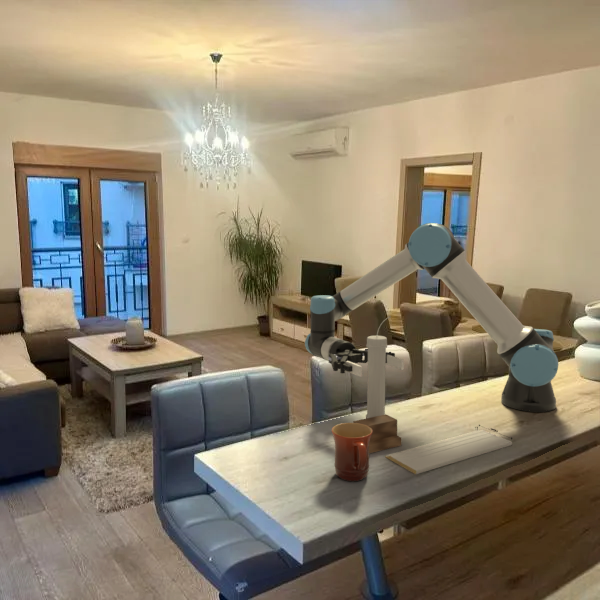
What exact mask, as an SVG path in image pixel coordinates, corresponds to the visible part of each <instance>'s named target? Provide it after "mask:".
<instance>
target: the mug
mask: <svg viewBox="0 0 600 600" xmlns="http://www.w3.org/2000/svg"><path fill="white" fill-rule="evenodd" d="M372 432H373V431H372V429H371V428H370V427H369V426H367V425H364V424H359V423H353V422H343V423H338V424H336V425H334V426H332V428H331V433H332V436H333V442H334V463H333V465H334V469H335V474H336V476H337V477H338V478H340V479H341V480H344V481H347V482H359V481H363V479H365V478H366V477H368V474H369V469H370V453H369V442H370V439H371V436H372Z"/></svg>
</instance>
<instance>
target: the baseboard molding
mask: <svg viewBox="0 0 600 600" xmlns="http://www.w3.org/2000/svg"><path fill="white" fill-rule="evenodd" d="M479 427H481V425H480V424H478V426H474V428H475V429H474V430H473V431H470V432H466V433H463V434H459V435H455V436H452V437H448V438H444V439H441V440H437V441H434V442H429V443H426V444H423V445H419V446H415V447H412V448H407V449H403V450H401V451H397V452H393V453H389V454H386V455H385V456H384V457H385V458H386V459H388V460H390V461H392V462H393V463H395V464H397V465H399V466H400V467H402V468H403V469H405V470H407V471H408V472H411V473H412V474H414V475H418V474H421V473H425V472H428V471H431V470H434V469H438V468H442V467H445V466H447V465H450V464H451V465H452V464H454V463H457V462H458V463H459V462H461V461H464V460H467V459H468V460H469V459H471V458H474V457H478V456H480V455H483V454H487V453H490V452H493V451H496V450H499V449H500V450H501V449H504V448H507V447H510V446H512V445H513V441H512V440H513V437H510V440H509V439H506V438H504V437H501V436H498V435H496V434H498V431H499V430H498V429H496V428H492V427H491V428H490V429H489V428H488V430H490V431H492V432H494V433H496V434H493V433H491V432H490V431H489V432H488V431H486V430H485V429H486V427H484V426H483V428H484V429H481V430H480V429H479ZM500 435H502V436H503V434H501V433H500ZM505 437H507V438H508V436H507V435H505Z"/></svg>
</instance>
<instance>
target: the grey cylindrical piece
mask: <svg viewBox="0 0 600 600" xmlns="http://www.w3.org/2000/svg"><path fill="white" fill-rule="evenodd" d="M389 318H391V316H388V317H387V318H385V319H383V321H382V322H381V323H380V325H379V327H378V329H377V332H376V335H370V336H367V337H366V345H365V347H366V349H368V362H367V384H366V385H367V386H366V387H367V389H366V391H367V393H366V398H367V399H366V400H367V401H366V408H367V409H366V414H365V419H366V418H371V417H376V416H381V415H385V414H386V412H385V411H386V365H387V363H386V352H387V348H388V339H387V337H386V336H384V335H379V331H380V329H381V326H382V325H383V323H384V322H385V321H386V320H387V319H389Z"/></svg>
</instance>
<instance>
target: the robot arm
mask: <svg viewBox="0 0 600 600" xmlns="http://www.w3.org/2000/svg"><path fill="white" fill-rule="evenodd" d="M466 253H467V252H466V250H465V249H464V248H463V246H461V244H460V243H459V242H458V241H457V240H456V239H455V235H454V234H453V232H452V230H451V229H450V228H449V227H448V226H446V225H444V224H441V223H437V222H436V223H434V222H428V223H423V224H421V225H419V226H418V227H417V228H415V229H414V230H413V232H412V233H411V235H410V237H409V241H408V242H407V243H406V244H405V245H404V249H402V250H401V251H399V252H398V253H396V254H395V255H393V256H392V257H390V258H388V259H387V260H385V261H384V262H382V263H381V264H380V265H378V266H376V267H375V268H374V269H372V270H371V271H369V272H367V273H366V274H364V275H363V276H361V277H360V278H358V279H357V280H355V281H354V282H353V283H350V284H349V285H347V286H346V287H345V288H343V289H342V290H339V292H337V293H335V294H333V295H328V294H327V295H326V294H325V295H323V294H322V295H321V294H320V295H313V296H312V297H311V298H310V304H309V305H310V306H309V310H310V311H309V312H310V313H309V314H310V330H309V331H310V333H308V334H307V336H306V338H305V340H304V346H305V349H306V351H307V352H308V353H309V354H311V355H312V356H314V357H315V358H316V357H317V358H319V359H323V360H325V361H327V362H328V363H329V364H331V367H332V370H333V372H338V370H340V374H345V373H346V372H348V373H350V374H352V375H355V376H356V377H363V366H362V365H360V364H368V348H365V349H363V350H362V349H359V348H356V347H355V345H354V343H352V342H350V341H347V340H344V339H342V338H338V337H335V329H336V327H335V325H336V323H335V322H336V321H338V320H340V319H342V318H344V317H345V316H347V314H349V313H351V312H352V311H354V310H356V309H357V308H359V307H360V306H363V304H365V303H366V302H368V301H371V299H372V298H375V297H376V296H378V295H379V294H381V293H382V292H384V291H385V290H387V289H389V288H390V287H392V286H393V285H396V283H398V282H400V281H401V280H403V279H405V278H406V277H409V275H410V274H413V273H414V272H416V271H417V270H422V271H424V270H425V271H426V272H427V273H428V275H429V276H430V277H431V278H432V279H438V280H441V281H442V283H444V285H445V286H446V287H447V289H449V290H450V291H451V293H452V294H454V296H455V298H456V299H458V301H459V302H460V304H462V306H464V308H466V310H467V311H468V312H469V314H470V315H471V316H472V317H473V318H474V319H475V321H476V322H477V323H478V325H480V326H481V327H482V328H483V330H484V331H485V332H486V333H487V334H488V336H489V337H490V338H491V339H492V340H493V341H494V342H495V344H496V345H497V350H496V353H497V355H499V357H500V358H501V359H502V360H503V362H505V364H506V365H507V366H508V376H507V377H508V378H507V381H506V383H505V385H504V388H503V391H502V392H501V403H502V404H503V405H504V406H506V407H509V408H510V409H512V410H513V409H514V410H518V411H523V412H530V413H532V412H533V413H546V412H551V411H554V410H555V409H556V407H557V398H556V397H555V392H554V388H553V385H552V380H553V379H554V378H555V377H556V375H557V373H558V370H559V359H558V356H557V354H556V353H555V351H554V340H555V339H554V333H553V331H552V330H549V329H543V328H542V329H541V328H540V329H539V328H534V327H533V326H531V325H529V326H528V325H523V324H522V322H521V321H520V320H519V319H518V318H517V317H516V316H515V315H514V313H513V312H512V311H511V310H510V308H509V307H507V305H506V304H505V302H504V301H503V300H501V298H500V297H499V296H498V295H497V294H496V293H495V292H494V290H493V289H492V288H491V287H490V286H489V285H488V284H487V282H486V281H485V280H484V279H483V278H482V277H481V276H480V274H479V273H478V272H477V270H475V268H473V266H472V265H471V264H470V263H469V262H468V260H467V259H466ZM363 358H364V359H363ZM358 363H360V364H358ZM386 365H387V366H390V367H393V368H395V369H398V370H401V371H403V370H404V369H405V368H404V366H405V360H404V359H403V358H400V357H397V356H396V353H395V352H392V351H389V352H388V351H386Z"/></svg>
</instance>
